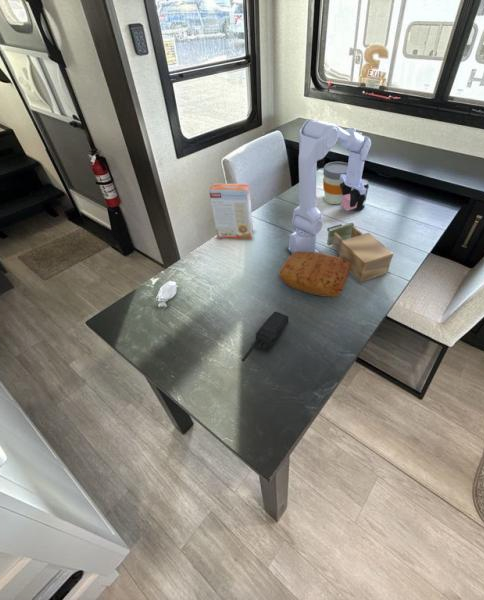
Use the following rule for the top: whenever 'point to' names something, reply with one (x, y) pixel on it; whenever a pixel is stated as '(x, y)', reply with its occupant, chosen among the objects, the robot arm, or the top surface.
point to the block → (347, 202)
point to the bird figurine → (166, 293)
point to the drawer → (341, 234)
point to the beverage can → (362, 197)
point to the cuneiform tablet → (315, 273)
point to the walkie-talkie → (269, 332)
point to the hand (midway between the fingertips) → (349, 203)
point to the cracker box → (232, 210)
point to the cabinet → (365, 256)
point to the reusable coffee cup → (333, 181)
